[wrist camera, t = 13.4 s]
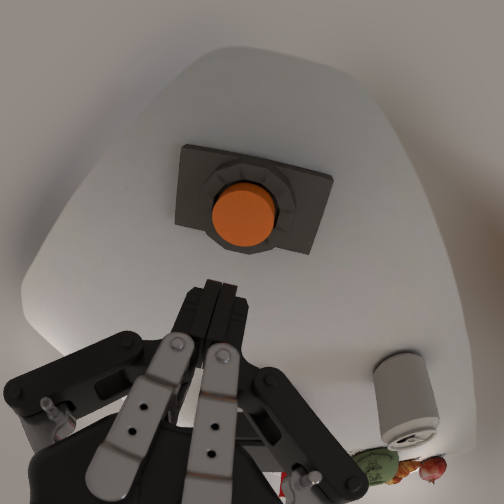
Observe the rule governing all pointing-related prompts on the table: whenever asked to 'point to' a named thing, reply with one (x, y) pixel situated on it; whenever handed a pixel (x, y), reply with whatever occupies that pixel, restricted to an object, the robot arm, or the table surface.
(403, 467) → the croissant
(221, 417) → the robot arm
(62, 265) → the table surface
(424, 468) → the fruit
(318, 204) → the control block
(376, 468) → the mug
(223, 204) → the button
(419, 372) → the can
